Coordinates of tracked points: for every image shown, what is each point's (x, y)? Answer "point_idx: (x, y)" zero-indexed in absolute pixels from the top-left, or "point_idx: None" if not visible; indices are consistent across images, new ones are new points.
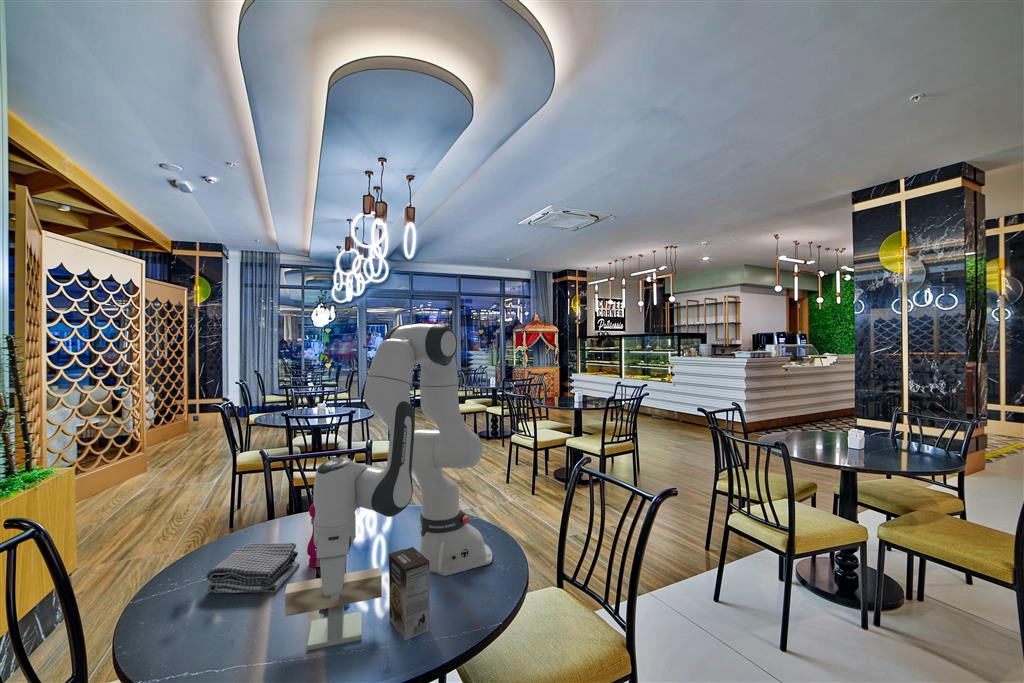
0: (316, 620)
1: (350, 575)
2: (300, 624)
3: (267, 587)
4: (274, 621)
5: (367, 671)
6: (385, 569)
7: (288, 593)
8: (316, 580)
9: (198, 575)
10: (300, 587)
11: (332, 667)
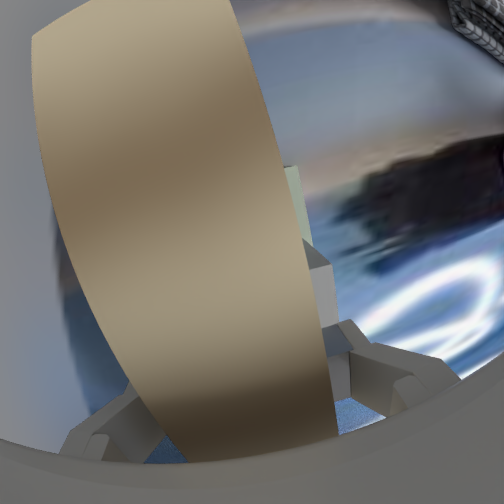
0: (296, 185)
1: None
2: (301, 121)
3: (457, 8)
4: (324, 34)
5: (86, 384)
6: (501, 316)
7: (34, 59)
8: (262, 264)
9: None
10: (100, 118)
11: (81, 307)
